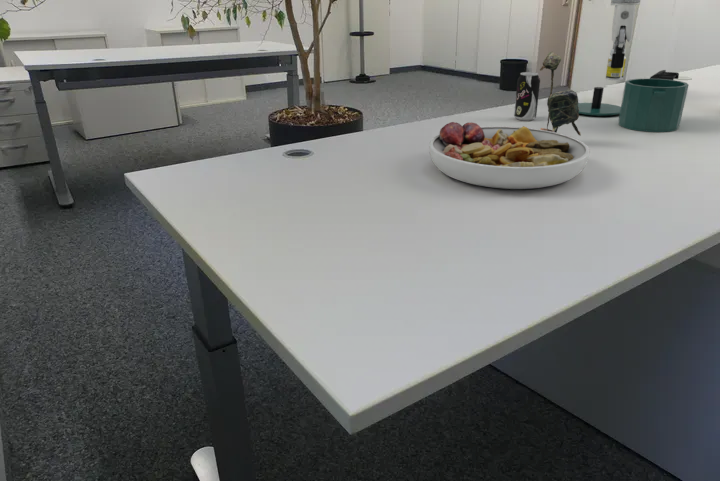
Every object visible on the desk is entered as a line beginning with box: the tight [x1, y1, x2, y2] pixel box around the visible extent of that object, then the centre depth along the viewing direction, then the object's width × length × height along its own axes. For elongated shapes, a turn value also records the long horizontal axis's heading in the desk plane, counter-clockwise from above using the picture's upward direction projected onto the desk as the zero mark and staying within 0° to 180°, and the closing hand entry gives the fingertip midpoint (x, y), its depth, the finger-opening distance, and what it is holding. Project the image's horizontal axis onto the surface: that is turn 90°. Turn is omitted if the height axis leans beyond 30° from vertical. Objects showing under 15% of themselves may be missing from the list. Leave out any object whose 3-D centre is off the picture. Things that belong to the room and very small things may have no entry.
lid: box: [578, 86, 621, 117], centre depth 153 cm, size 15×15×7 cm
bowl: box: [428, 121, 591, 190], centre depth 107 cm, size 30×30×8 cm
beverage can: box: [513, 71, 541, 122], centre depth 145 cm, size 6×6×12 cm
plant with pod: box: [539, 51, 582, 137], centre depth 122 cm, size 8×11×20 cm
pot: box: [618, 77, 690, 133], centre depth 136 cm, size 14×19×10 cm
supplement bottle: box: [605, 48, 627, 81], centre depth 162 cm, size 5×5×8 cm
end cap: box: [649, 69, 680, 80], centre depth 174 cm, size 10×7×7 cm
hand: (616, 65), depth 162 cm, fingers closed on supplement bottle, 4 cm apart
